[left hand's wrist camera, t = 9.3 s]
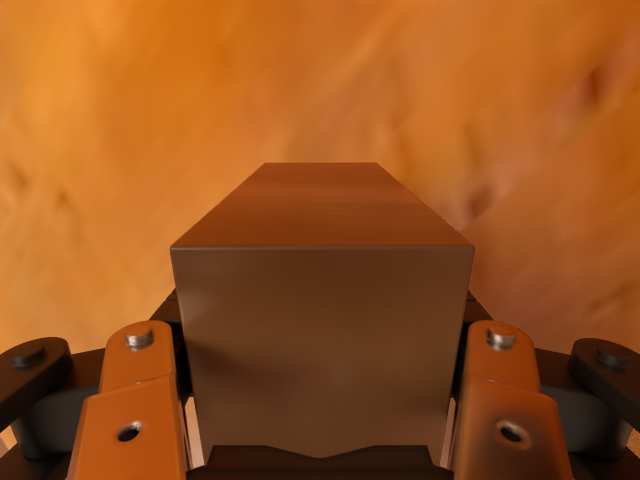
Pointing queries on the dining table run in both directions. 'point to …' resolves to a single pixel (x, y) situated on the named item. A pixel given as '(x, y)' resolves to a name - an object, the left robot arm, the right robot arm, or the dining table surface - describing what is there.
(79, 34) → the dining table surface
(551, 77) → the dining table surface
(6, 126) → the dining table surface
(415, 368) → the box
